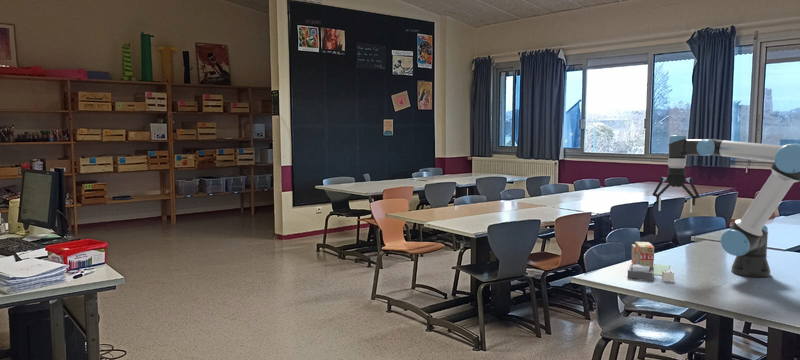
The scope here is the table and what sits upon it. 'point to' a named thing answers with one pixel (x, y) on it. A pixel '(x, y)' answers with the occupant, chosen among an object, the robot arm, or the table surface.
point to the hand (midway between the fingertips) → (675, 211)
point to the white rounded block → (641, 268)
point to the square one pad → (660, 269)
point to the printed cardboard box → (643, 254)
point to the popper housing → (641, 274)
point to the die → (667, 275)
